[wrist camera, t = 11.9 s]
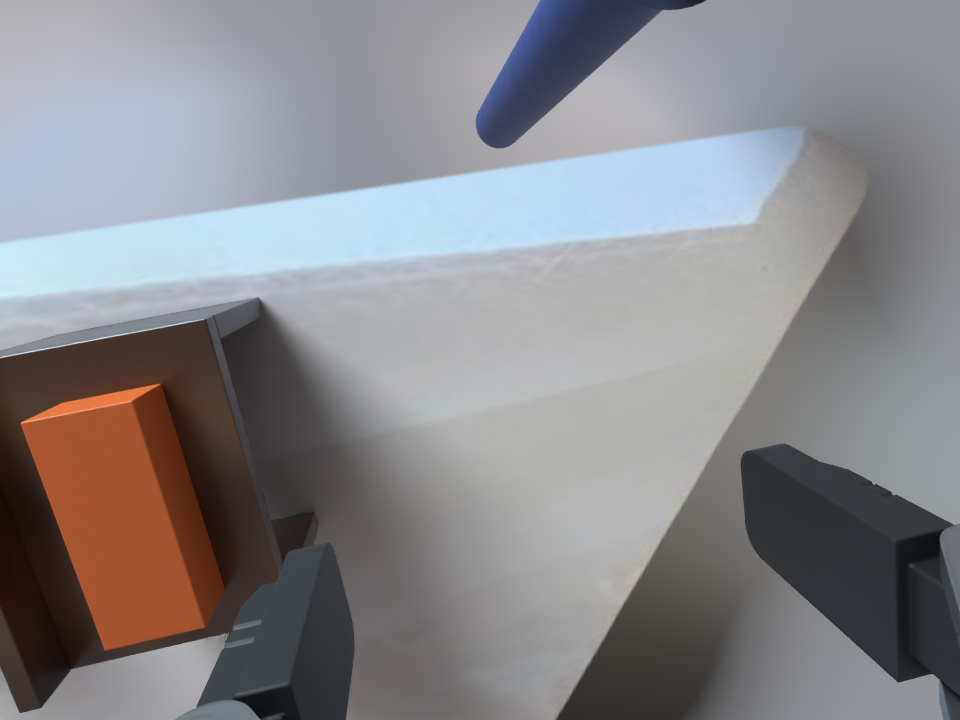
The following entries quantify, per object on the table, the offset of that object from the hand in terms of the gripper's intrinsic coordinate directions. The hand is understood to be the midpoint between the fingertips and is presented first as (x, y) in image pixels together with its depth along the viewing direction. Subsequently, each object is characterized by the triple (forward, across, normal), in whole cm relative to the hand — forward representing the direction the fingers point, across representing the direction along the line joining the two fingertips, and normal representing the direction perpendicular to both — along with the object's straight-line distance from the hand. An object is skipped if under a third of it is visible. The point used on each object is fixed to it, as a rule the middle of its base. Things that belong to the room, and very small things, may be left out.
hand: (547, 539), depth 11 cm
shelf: (+28, +17, +4) cm, 33 cm away
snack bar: (+18, +16, +4) cm, 25 cm away
